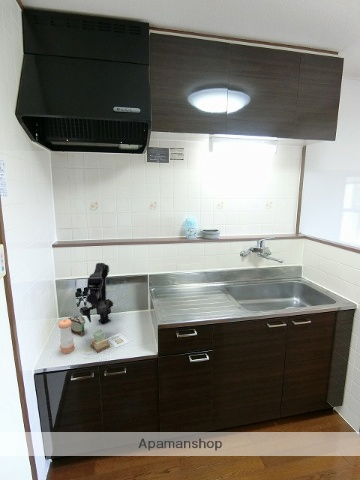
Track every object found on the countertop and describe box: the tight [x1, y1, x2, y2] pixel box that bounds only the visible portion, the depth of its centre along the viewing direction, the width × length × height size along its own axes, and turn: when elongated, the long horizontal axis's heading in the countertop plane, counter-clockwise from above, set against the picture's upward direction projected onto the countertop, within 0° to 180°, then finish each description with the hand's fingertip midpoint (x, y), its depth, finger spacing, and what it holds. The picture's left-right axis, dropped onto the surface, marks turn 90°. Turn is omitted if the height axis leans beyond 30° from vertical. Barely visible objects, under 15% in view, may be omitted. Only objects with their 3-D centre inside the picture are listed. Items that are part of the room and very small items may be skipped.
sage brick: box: [92, 329, 106, 342], centre depth 146 cm, size 4×4×4 cm
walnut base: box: [90, 341, 111, 354], centre depth 147 cm, size 8×8×2 cm
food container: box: [67, 315, 86, 337], centre depth 161 cm, size 12×6×10 cm, turn 65°
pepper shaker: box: [57, 318, 75, 355], centre depth 142 cm, size 7×7×19 cm
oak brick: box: [91, 337, 108, 350], centre depth 146 cm, size 6×6×4 cm
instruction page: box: [106, 332, 130, 349], centre depth 154 cm, size 12×9×1 cm
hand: (97, 319), depth 152 cm, fingers open, 9 cm apart
